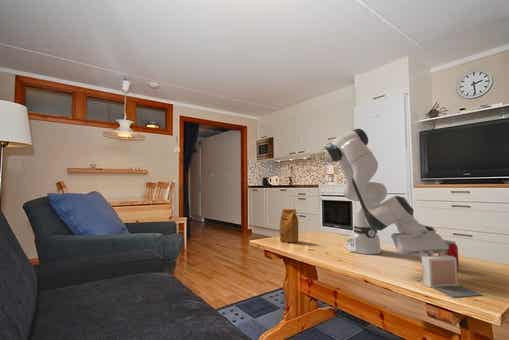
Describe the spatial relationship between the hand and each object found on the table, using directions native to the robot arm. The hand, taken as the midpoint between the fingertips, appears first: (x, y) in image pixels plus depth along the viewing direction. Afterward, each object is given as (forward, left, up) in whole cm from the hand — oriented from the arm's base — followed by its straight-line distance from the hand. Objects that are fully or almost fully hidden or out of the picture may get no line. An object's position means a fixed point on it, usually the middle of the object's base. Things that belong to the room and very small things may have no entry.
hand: (431, 262), depth 100 cm
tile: (+3, 0, -7) cm, 8 cm away
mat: (+10, 0, -7) cm, 12 cm away
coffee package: (-81, -36, -7) cm, 89 cm away
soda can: (-12, +18, -7) cm, 23 cm away
